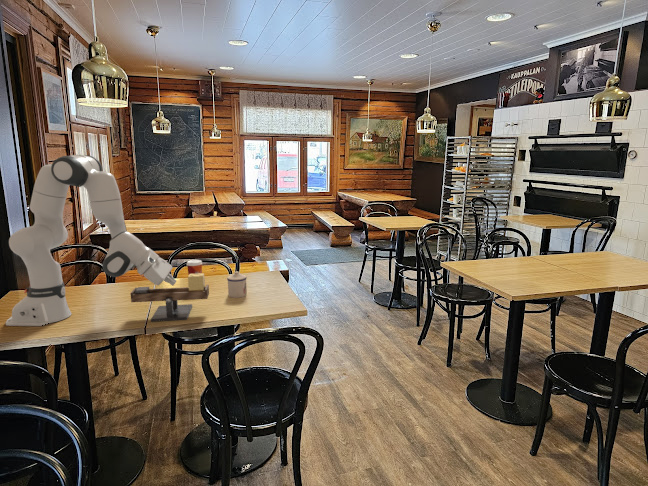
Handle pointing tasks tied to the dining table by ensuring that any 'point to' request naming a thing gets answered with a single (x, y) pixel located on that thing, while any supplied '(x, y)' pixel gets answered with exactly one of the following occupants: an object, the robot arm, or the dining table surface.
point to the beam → (169, 294)
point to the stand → (171, 311)
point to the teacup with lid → (237, 285)
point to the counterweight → (142, 290)
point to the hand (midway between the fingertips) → (174, 283)
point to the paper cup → (194, 266)
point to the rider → (196, 282)
